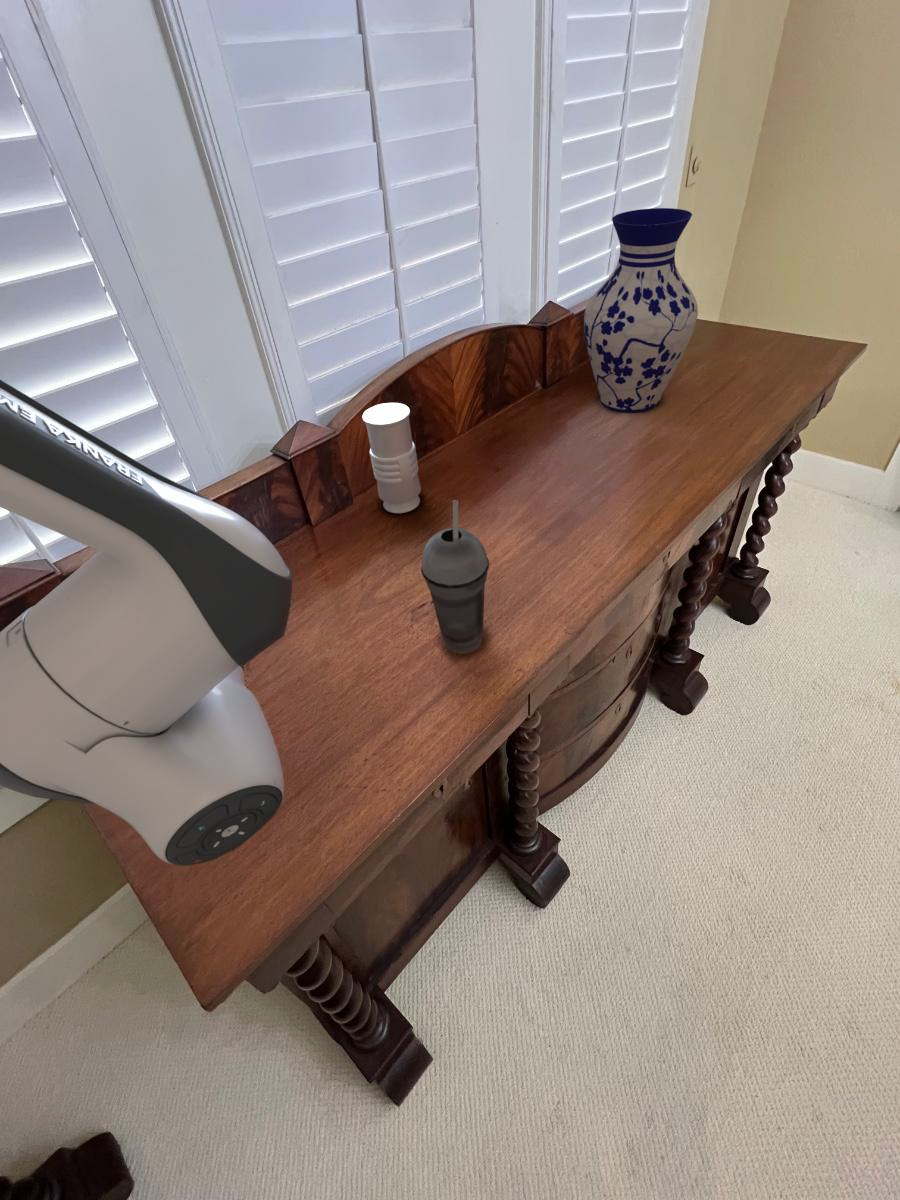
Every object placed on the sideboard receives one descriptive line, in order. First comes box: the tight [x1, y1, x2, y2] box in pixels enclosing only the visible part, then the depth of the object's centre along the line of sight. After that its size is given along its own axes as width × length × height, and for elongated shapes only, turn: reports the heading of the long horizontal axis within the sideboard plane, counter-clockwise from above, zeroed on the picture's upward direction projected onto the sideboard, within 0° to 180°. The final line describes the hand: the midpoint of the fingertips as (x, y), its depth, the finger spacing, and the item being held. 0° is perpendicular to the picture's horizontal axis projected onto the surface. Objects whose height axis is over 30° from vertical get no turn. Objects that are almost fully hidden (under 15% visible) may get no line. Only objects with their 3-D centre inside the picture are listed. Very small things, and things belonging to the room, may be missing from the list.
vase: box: [583, 207, 699, 414], centre depth 102 cm, size 19×19×30 cm
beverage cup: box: [420, 500, 490, 655], centre depth 63 cm, size 7×7×20 cm
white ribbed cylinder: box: [362, 402, 422, 514], centre depth 88 cm, size 7×7×15 cm
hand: (141, 572), depth 54 cm, fingers open, 8 cm apart
